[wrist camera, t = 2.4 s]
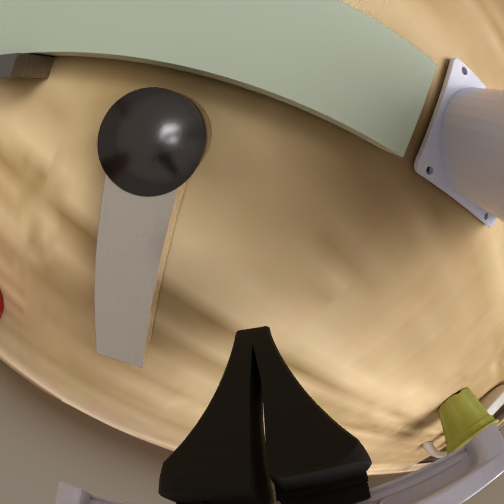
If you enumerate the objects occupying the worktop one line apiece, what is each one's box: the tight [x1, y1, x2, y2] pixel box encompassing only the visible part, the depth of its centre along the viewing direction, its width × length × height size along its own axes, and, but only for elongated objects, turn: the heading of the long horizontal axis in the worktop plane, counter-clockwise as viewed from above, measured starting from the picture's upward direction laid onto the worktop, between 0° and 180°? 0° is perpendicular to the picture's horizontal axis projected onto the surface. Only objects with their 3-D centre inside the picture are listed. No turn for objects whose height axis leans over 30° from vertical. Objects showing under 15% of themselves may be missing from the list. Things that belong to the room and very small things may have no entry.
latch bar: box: [95, 87, 211, 368], centre depth 12 cm, size 14×4×3 cm, turn 160°
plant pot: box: [438, 388, 499, 455], centre depth 25 cm, size 9×9×9 cm
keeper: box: [0, 53, 54, 78], centre depth 7 cm, size 4×1×3 cm, turn 70°
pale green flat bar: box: [0, 0, 437, 157], centre depth 8 cm, size 24×5×2 cm, turn 70°
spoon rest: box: [423, 384, 504, 458], centre depth 33 cm, size 24×12×7 cm, turn 147°
